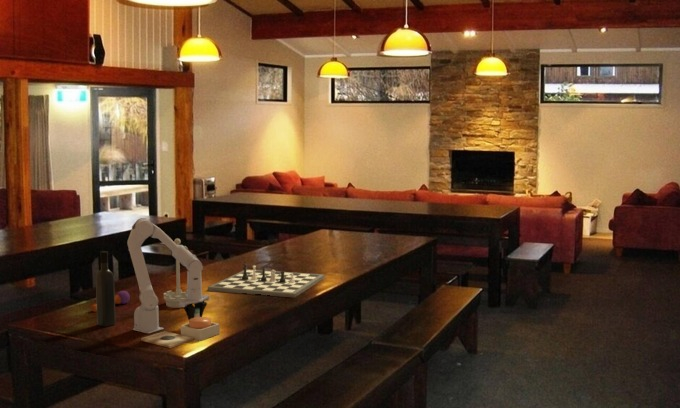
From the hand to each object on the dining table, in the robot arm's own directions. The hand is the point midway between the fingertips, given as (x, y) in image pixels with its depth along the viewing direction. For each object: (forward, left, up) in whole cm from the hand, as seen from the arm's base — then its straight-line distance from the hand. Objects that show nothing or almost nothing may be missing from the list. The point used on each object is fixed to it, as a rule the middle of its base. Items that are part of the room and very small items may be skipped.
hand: (195, 321), depth 298 cm
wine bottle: (-30, -20, -2) cm, 36 cm away
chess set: (-25, +75, -3) cm, 79 cm away
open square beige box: (+11, -8, -2) cm, 14 cm away
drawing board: (+6, -20, -2) cm, 21 cm away
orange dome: (+11, -8, +1) cm, 14 cm away
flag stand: (-31, +20, -2) cm, 37 cm away
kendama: (-52, 0, -2) cm, 52 cm away
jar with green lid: (0, 0, -2) cm, 2 cm away
